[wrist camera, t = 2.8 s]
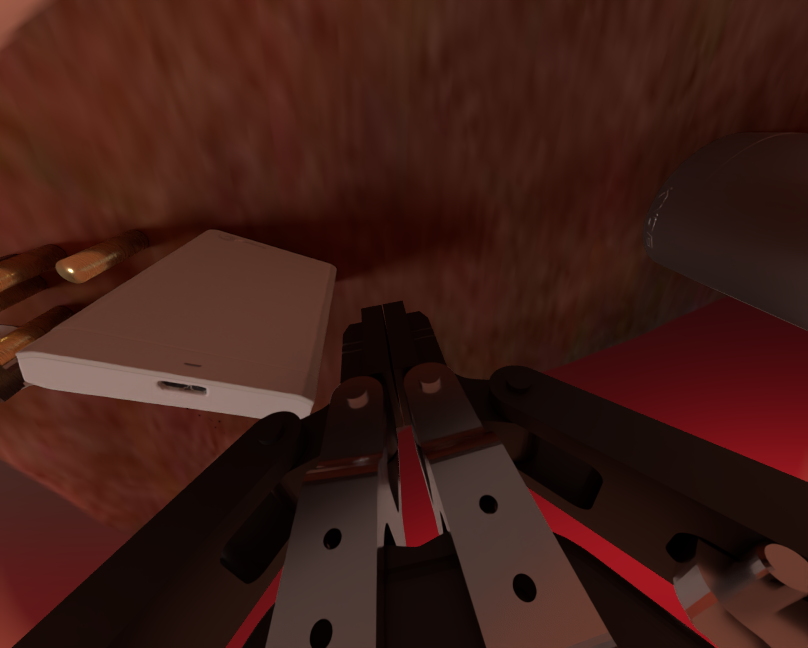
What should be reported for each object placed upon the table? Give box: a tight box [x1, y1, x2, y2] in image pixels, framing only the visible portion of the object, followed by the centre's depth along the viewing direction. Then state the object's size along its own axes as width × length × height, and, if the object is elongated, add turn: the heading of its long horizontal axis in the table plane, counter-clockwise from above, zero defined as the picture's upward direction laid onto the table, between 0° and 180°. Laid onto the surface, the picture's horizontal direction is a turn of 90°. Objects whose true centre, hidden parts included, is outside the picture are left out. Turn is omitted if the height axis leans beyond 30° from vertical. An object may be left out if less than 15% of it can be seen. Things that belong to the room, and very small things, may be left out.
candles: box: [0, 230, 149, 402], centre depth 17 cm, size 9×6×6 cm
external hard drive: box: [15, 230, 337, 419], centre depth 15 cm, size 2×8×12 cm, turn 69°
